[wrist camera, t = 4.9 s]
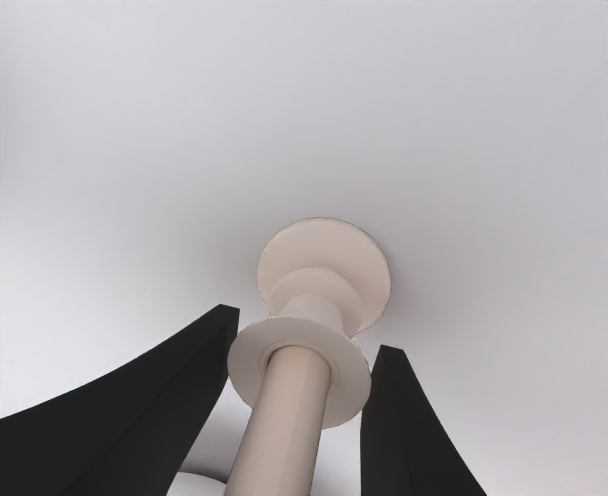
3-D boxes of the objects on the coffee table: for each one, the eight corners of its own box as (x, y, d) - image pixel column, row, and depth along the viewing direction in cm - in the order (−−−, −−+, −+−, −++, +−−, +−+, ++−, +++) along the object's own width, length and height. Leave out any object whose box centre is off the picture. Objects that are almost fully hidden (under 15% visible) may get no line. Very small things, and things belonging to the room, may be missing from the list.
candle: (367, 198, 13) (343, 522, 3) (406, 318, 14) (463, 752, 5) (239, 238, 14) (-19, 533, 5) (288, 342, 16) (166, 705, 7)
